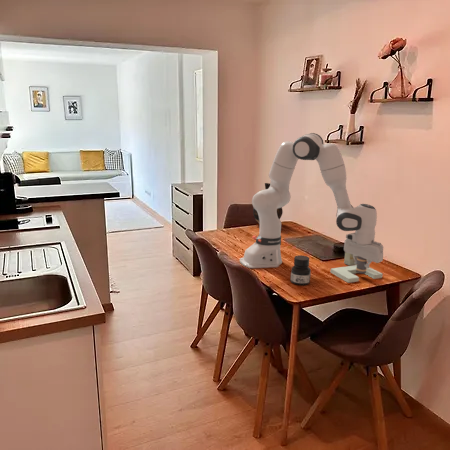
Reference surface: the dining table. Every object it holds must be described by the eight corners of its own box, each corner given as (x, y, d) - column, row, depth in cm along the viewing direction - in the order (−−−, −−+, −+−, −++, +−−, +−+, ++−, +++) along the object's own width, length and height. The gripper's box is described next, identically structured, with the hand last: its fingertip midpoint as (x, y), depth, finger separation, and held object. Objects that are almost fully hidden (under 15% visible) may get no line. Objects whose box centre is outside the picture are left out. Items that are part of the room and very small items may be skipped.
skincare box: (349, 266, 215) (351, 243, 212) (343, 263, 219) (345, 241, 216) (358, 264, 218) (361, 242, 215) (352, 261, 222) (355, 239, 219)
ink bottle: (287, 284, 190) (289, 259, 187) (291, 277, 198) (293, 253, 195) (309, 287, 187) (311, 262, 184) (311, 280, 195) (313, 256, 192)
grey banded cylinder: (362, 274, 197) (363, 258, 195) (353, 271, 201) (355, 255, 199) (368, 272, 200) (369, 256, 198) (359, 269, 203) (361, 254, 201)
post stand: (348, 282, 193) (352, 246, 189) (330, 272, 206) (333, 237, 201) (386, 277, 201) (390, 241, 197) (366, 267, 214) (370, 233, 209)
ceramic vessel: (256, 228, 282) (257, 185, 275) (249, 222, 299) (251, 181, 291) (285, 227, 286) (288, 184, 279) (277, 221, 303) (279, 180, 295)
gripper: (387, 242, 189) (384, 271, 193) (351, 232, 206) (349, 258, 209) (379, 245, 186) (375, 273, 189) (343, 234, 202) (340, 261, 206)
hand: (361, 265), depth 199 cm, fingers closed on grey banded cylinder, 4 cm apart
